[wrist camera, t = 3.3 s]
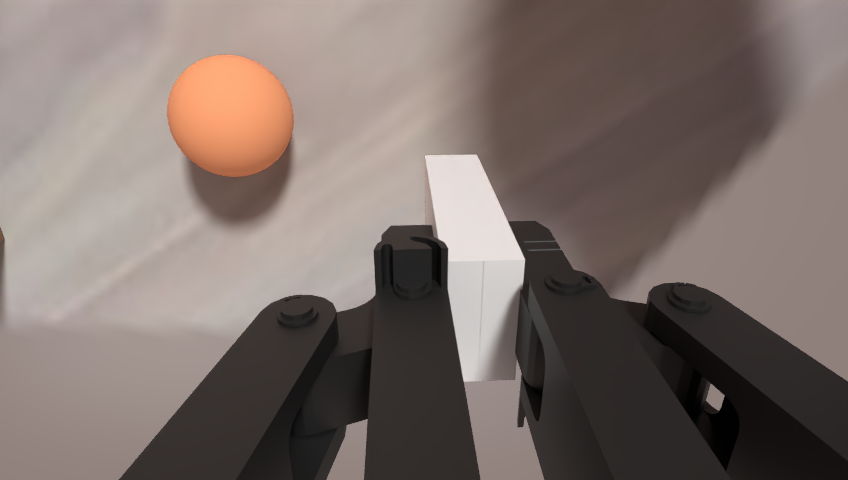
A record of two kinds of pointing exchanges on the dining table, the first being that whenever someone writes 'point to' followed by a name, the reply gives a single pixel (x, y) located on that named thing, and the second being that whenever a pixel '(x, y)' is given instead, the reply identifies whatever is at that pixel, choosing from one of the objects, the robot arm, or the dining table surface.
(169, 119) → the ball
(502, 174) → the dining table surface
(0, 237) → the bridge
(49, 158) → the dining table surface
